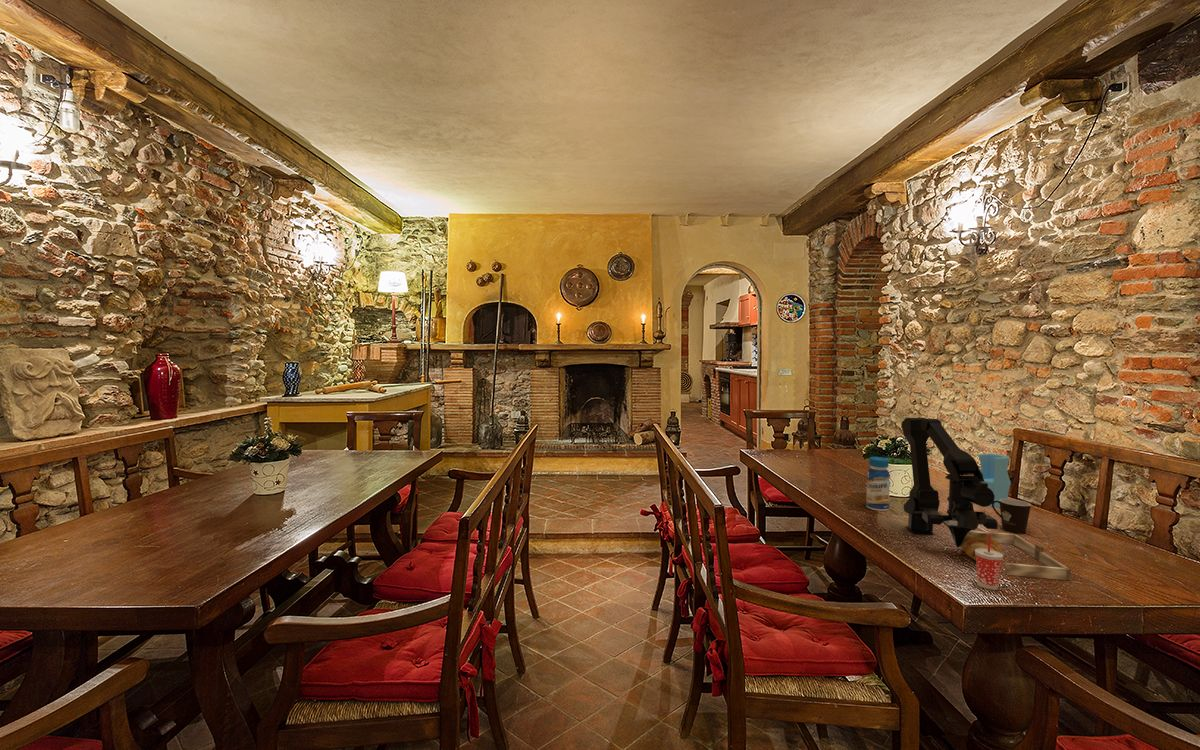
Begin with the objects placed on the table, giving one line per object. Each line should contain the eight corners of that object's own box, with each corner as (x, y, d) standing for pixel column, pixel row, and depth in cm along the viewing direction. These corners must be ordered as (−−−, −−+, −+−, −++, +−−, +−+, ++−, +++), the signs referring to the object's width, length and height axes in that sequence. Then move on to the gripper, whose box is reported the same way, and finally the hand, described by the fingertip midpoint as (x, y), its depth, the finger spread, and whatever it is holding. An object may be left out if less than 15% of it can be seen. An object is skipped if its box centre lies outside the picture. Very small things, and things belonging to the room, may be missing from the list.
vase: (975, 502, 215) (977, 454, 214) (990, 500, 217) (992, 453, 216) (994, 507, 208) (996, 458, 206) (1009, 506, 209) (1011, 457, 208)
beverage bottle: (891, 507, 207) (893, 458, 206) (886, 512, 201) (888, 461, 200) (868, 503, 213) (870, 455, 212) (862, 508, 207) (864, 458, 206)
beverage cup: (984, 590, 137) (986, 538, 136) (967, 580, 143) (969, 530, 142) (1007, 590, 137) (1010, 538, 136) (990, 580, 143) (992, 530, 142)
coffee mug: (1035, 536, 177) (1036, 506, 176) (1006, 534, 178) (1007, 505, 178) (1015, 524, 188) (1016, 497, 187) (988, 522, 190) (989, 495, 189)
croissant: (998, 582, 149) (1016, 561, 147) (961, 560, 153) (978, 539, 151) (985, 555, 168) (1000, 535, 166) (952, 536, 172) (967, 516, 169)
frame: (1006, 574, 146) (1007, 559, 146) (963, 539, 174) (963, 526, 173) (1070, 580, 143) (1071, 564, 143) (1015, 543, 170) (1016, 530, 170)
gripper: (935, 501, 155) (933, 553, 156) (1008, 507, 150) (1005, 560, 151) (922, 491, 166) (920, 540, 167) (990, 496, 161) (988, 546, 162)
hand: (957, 546), depth 161 cm, fingers closed
